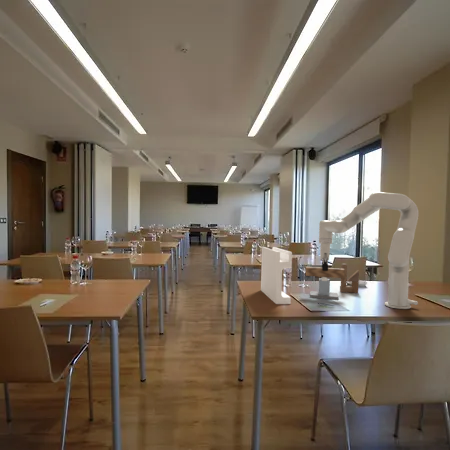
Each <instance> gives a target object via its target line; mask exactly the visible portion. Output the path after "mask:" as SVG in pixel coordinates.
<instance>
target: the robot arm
mask: <svg viewBox="0 0 450 450" xmlns="http://www.w3.org/2000/svg"><path fill="white" fill-rule="evenodd" d="M380 209H384V210H386V209H387V210H394V211H398V212H399V214H400V217H399V220H398V224H397V228H396V231H395V232H394V233H393V235H392V238H391V242H390V247H389V250H388V254H387V260H388V263H389V265H388V285H387V286H388V287H387V288H388V291H387V301H385V302H384V306H386V307H388V308H393V309H397V310H409V309H411V308H412V305H414V306H416V305H419V302H418V301H417V300H411V299H409V298H408V297H409V275H410V274H409V273H410V272H409V271H410V254H411V251H412V246H413V243H414V240H415V234H416V229H417V226H418V221H419V209H418V206H417V204H416V203H415V202H414V201H413V200H412V199H411V198H410V197H408V195H406V194H402V193H393V192H382V191H375V192H373V193H371V194H369V196H368V198H366V199H364V201H362V202H360V203H359V204H357V205H355V207H354V208H353V209H352V211H350V212H349V213H348V214H347V215H345V216H344V217H343V218H341V219H338V220H326V219H325V220H323V219H322V220H320V221H319V223H318V224H319V228H318V229H319V232H318V234H319V236H318V239H319V240H318V244H320V246H319V247H320V249H319V252H320V254H319V259H320V261H321V262H322V263H321V268H322V270H323V271H328V268H329V263H328V262H329V260H330V254H331V250H330V249H331V245H332V244H333V233H334V234H342V233H345V232H348V231H349V230H350V229H352V228H354V227H355V226H356V225H358V224H359V223H361V222H362V221H364V220H365V219H367V218H368V217H371V215H373V214H374V213H376V212H377V211H379V210H380Z"/></svg>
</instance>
